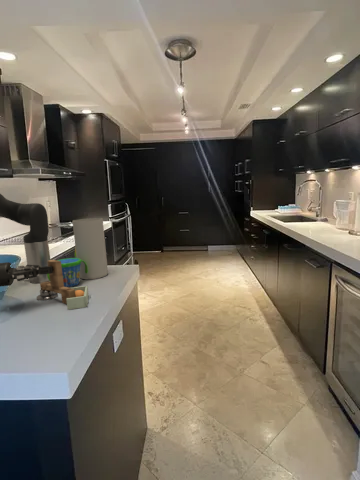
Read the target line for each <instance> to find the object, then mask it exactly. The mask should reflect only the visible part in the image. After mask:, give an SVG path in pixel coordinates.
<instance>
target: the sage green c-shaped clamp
mask: <svg viewBox="0 0 360 480" xmlns="http://www.w3.org/2000/svg"><path fill="white" fill-rule="evenodd" d="M70 288H71V289H75V291H77V290H82V291H84V296H81V297H73V298H67V299H66V301H67V304H66V309H67V311H69V310H76V309H84V308H87V307H88V304H89V303H88V302H89V296H90V295H89V286H88V285H82V286H72V287H70Z"/></svg>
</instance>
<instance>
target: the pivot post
mask: <svg viewBox="0 0 360 480" xmlns="http://www.w3.org/2000/svg"><path fill="white" fill-rule="evenodd" d="M58 296H59V293H56V292H52V291H48V290H41V289H40V290H39V295H37V296H36V300H37V301H40V302H42V301H50V300H52V299H55V298H58Z"/></svg>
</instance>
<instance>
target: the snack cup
mask: <svg viewBox="0 0 360 480" xmlns="http://www.w3.org/2000/svg"><path fill="white" fill-rule="evenodd" d="M56 260H57V261H61V266H62V274H63V282H64V287H68V288H73V287H75V286H78V285H79V284H80V279H81V278H80V265H81V262H83V263H84V264H85V273H88V266H87V264H86V262H85V261H83V260H81V259H79V258H75V257H70V258H69V257H67V258H62V259H56ZM47 277H48V279H49V281H48V282H50V277H49V274H47Z"/></svg>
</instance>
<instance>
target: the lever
mask: <svg viewBox="0 0 360 480" xmlns="http://www.w3.org/2000/svg"><path fill="white" fill-rule="evenodd" d="M57 260H58V259H50V260H49V261H47V262H48V266H52V267H53V272H52V273H51V274H49V277H50V281H46V282H42V283H39V286H40V287H39V288H40V290H48V291H52V292H56V293H58V295H59V294H60V295H61V302H62V304H65V305H67V301H66V299H67V298H73V297H76V295H75V289H71V288H72V287H64V282H63V274H62V266H61V261H57Z"/></svg>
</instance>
